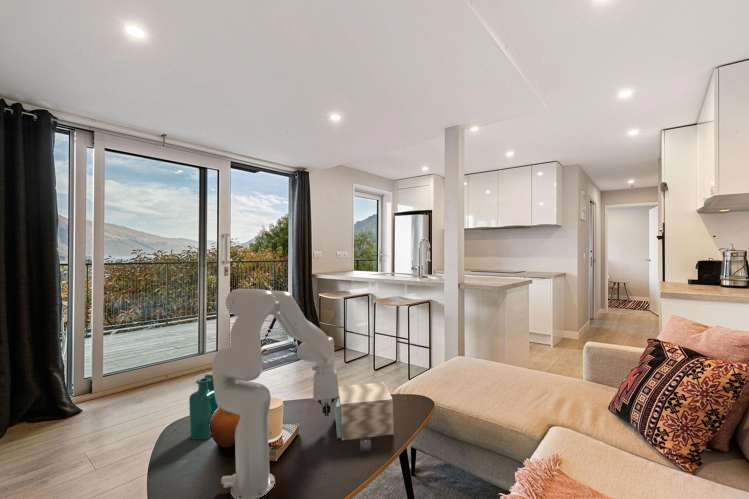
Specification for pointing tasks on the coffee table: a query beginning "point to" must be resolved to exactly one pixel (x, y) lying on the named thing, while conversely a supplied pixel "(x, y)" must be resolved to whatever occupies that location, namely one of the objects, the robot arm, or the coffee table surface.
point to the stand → (365, 444)
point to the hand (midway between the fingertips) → (326, 414)
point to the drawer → (338, 417)
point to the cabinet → (365, 411)
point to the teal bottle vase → (202, 408)
